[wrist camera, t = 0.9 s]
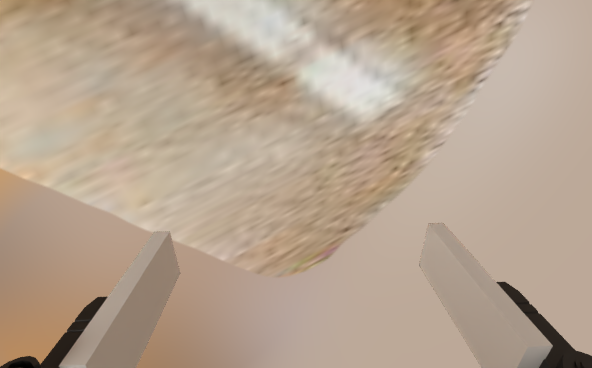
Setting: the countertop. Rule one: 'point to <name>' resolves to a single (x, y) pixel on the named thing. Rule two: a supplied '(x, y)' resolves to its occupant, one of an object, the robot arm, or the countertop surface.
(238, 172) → the countertop surface
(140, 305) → the robot arm
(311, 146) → the countertop surface
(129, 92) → the countertop surface
